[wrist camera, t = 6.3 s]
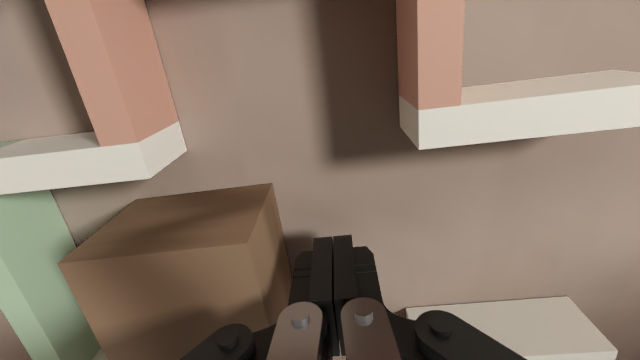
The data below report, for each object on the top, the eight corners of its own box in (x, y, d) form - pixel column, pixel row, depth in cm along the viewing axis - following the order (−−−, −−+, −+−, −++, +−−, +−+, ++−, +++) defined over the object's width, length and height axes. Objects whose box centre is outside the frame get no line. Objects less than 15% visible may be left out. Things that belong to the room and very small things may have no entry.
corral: (659, -167, 9) (795, -253, 7) (545, 404, 19) (583, 467, 16) (-94, -42, 11) (-234, -69, 8) (140, 424, 20) (110, 485, 18)
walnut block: (272, 182, 14) (247, 242, 10) (296, 296, 16) (284, 384, 12) (135, 199, 14) (56, 263, 10) (177, 307, 17) (126, 395, 12)
